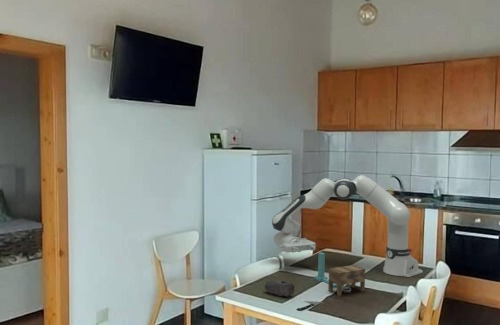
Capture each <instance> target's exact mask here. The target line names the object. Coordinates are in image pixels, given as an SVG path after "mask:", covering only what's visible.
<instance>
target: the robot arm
mask: <svg viewBox="0 0 500 325" xmlns="http://www.w3.org/2000/svg"><path fill="white" fill-rule="evenodd" d="M356 194H357V195H360V196H361V198H363V199H364V200H366V201H367V202H368V203H369V204H371V206H373V207H374V208H376V209H377V211H378V212H380V213H381V214H382V215H383V216H384V217H386V218H387V246H386V248H385V249H386V250H385V253H386V254H385V259H384V265H383V267H382V269H383V270H382V272H383V273H384V274H387V275H391V276H397V277H404V278H405V277H407V278H411V277H413V276H417V275H419V274H422V273H424V272H423V270H422V269H421V268H419V262H418V260H417V259H416V258H414V257H413V256H412V255H411V253H414V249H413V248H410V247H409V221H410V219H411V212H410V210H409V208H408V207H407V205H406V204H404V203H403V202H400V201H399V200H398V199H397V198H395V196H393V195H392V193H390V192H388V191H387V190H386V189H385V188H383V187H382V186H381V185H380V184H378V183H377V182H375V181H374V180H373V179H371V178H369V177H368V176H366V175H364V174H360V175H358V176H356V177H355V178H354V179H353V180H351V179H349V178H347V177H343V178H340V179H337V180H334V181H333V180H331V179H330V178H322V179H321V180H320V181H319V182H318V183H316V184H315V185H314V186H313V187H312V188H311V190H310V191H309V192H307V193H305V194H301V195H299V196H298V197H296V198H295V199H294V200H293V201H292V202H290V203H289V204H288V205H287V206H286V207H285V208H283V209H282V210H280V212H278V213H276V214H275V215H274V216H273V217H272V219H271V220H272V221H271V223H272V228H273V229H274V230H276V231H278V232H276V233H275V234H274V235H273V242H274V244H275V245H276V246H277V247H279V248H280V249H281V250H282V251H283V252H285V253H296V252H297V253H301V252H303V251H312V252H313V251H315V250H316V247H317V245H316V244H317V243H316V242H314V241H312V240H309V239H307V238H306V237H299V236H300V234H301V229H302V226H301V223H300V222H298V221H296V220H294V219H293V218H291V216H293V215H294V214H295V213H296V212H297V211H298V210H300V209H310V210H318V209H320V208H322V207H323V206H324V205H325V204H326V203H327V201H328V200H329V199H330V198H331V197H333V196H335V197H337V199H340V200H347V199H349V198H351V197H353V196H354V195H356Z"/></svg>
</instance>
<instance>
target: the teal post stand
mask: <svg viewBox="0 0 500 325" xmlns="http://www.w3.org/2000/svg"><path fill="white" fill-rule="evenodd" d="M317 255H318V261H317V262H318V263H317V275H314V280H315V279H316V281H318V282H323V283H325V284H327V285H329V278H328V277H327V276H325V270H326V268H325V267H326V266H325V265H326V260H325V259H326V254H325V253H324V252H318V254H317ZM342 287H345V285H342ZM333 289H337V284H335V283H333Z"/></svg>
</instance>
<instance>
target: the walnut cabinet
mask: <svg viewBox="0 0 500 325" xmlns="http://www.w3.org/2000/svg"><path fill="white" fill-rule="evenodd" d="M328 280H329V284H328V286H327V288H328V292H330V293H331V292H333V291H334V288H333V283H335V284H337V288H336V295H337V296H339V297H340V296H342V294H343V292H342V285H344V286H345V285H350V288H356V284H357V283H359V291H360V292H362V293H363V292H365V290H366V289H365V288H366V285H365V284H366V283H365V282H366V268H364V267H361V266H358V265H355V264H351V265H345V266H338V267H332V268H329V269H328Z"/></svg>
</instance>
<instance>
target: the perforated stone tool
mask: <svg viewBox="0 0 500 325" xmlns="http://www.w3.org/2000/svg"><path fill="white" fill-rule="evenodd" d="M264 289H265V290H266V292H268V293H269V294H271V295H275V296H279V297H286V298H289V297H292V296H293V295H294V293H295V284H294V283H293V282H289V281H285V280H270V281H266V282H265V284H264Z"/></svg>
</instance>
